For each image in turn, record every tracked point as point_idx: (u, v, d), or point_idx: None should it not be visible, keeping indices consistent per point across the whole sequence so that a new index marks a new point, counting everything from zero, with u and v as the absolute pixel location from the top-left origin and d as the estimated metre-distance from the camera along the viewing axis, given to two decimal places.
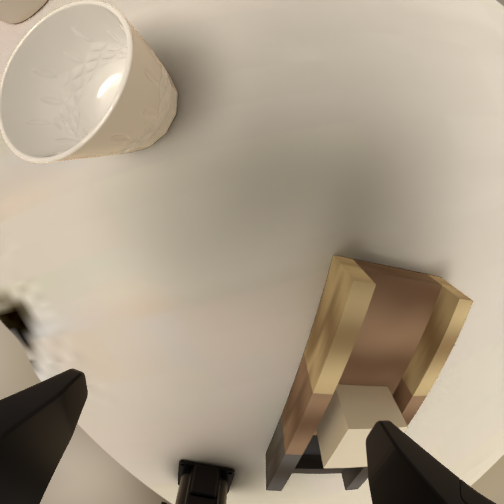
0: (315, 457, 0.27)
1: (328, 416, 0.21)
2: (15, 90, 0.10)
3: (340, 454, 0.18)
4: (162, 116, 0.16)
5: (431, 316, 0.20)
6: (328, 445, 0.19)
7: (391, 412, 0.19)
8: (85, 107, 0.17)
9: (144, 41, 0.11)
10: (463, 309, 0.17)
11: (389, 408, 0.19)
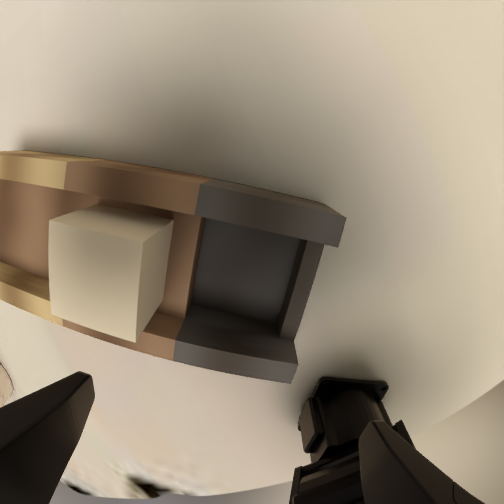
0: (291, 274, 0.19)
1: None
2: None
3: (98, 320, 0.13)
4: None
5: None
6: None
7: None
8: None
9: None
10: None
11: None
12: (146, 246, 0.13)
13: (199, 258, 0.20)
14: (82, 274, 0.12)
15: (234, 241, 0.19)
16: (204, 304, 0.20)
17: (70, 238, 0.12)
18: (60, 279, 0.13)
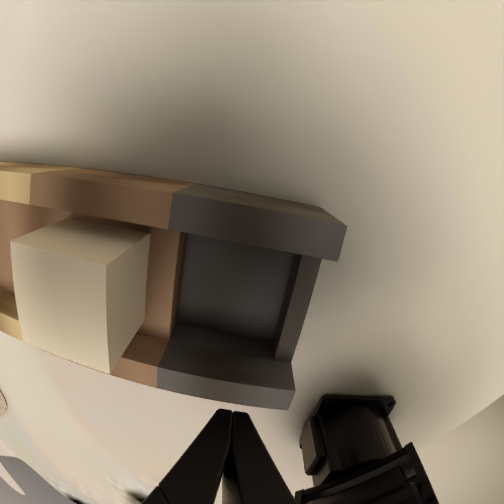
0: (286, 288, 0.17)
1: None
2: None
3: (69, 349, 0.11)
4: None
5: None
6: None
7: None
8: None
9: None
10: None
11: None
12: (112, 269, 0.10)
13: (183, 273, 0.17)
14: (47, 300, 0.10)
15: (221, 253, 0.17)
16: (191, 322, 0.18)
17: (32, 261, 0.10)
18: (26, 305, 0.10)
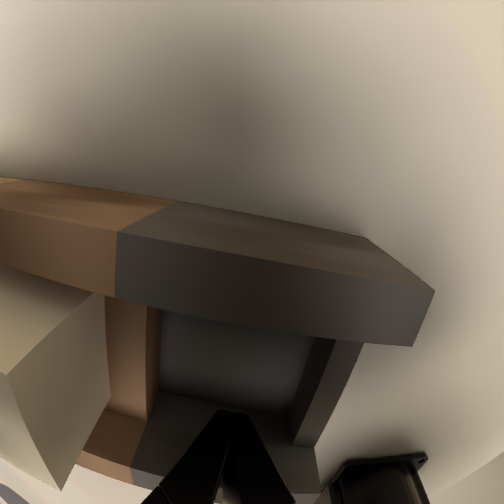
0: (312, 355, 0.11)
1: None
2: None
3: (4, 453, 0.05)
4: None
5: None
6: None
7: None
8: None
9: None
10: None
11: None
12: (25, 372, 0.05)
13: (162, 331, 0.12)
14: None
15: None
16: (178, 392, 0.12)
17: None
18: None
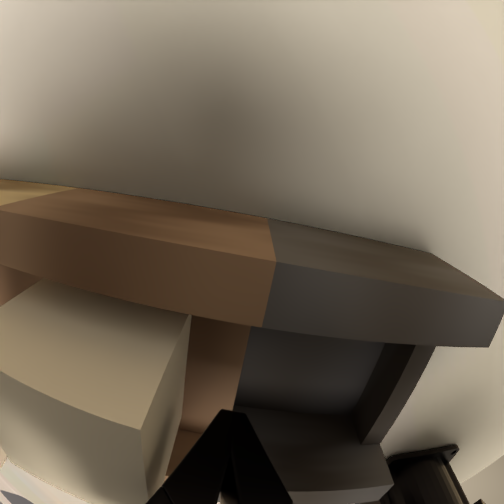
0: (383, 360, 0.12)
1: None
2: None
3: (83, 494, 0.05)
4: None
5: None
6: None
7: None
8: None
9: None
10: None
11: None
12: (150, 419, 0.05)
13: None
14: (34, 440, 0.05)
15: None
16: (250, 404, 0.13)
17: None
18: (4, 432, 0.05)
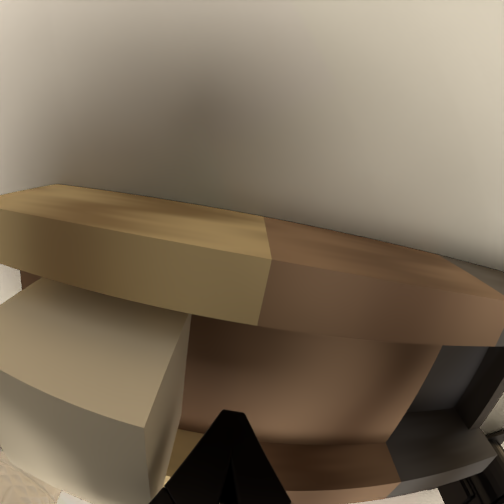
0: (488, 360, 0.12)
1: None
2: None
3: (84, 494, 0.05)
4: (16, 475, 0.13)
5: None
6: None
7: None
8: None
9: None
10: None
11: None
12: (152, 417, 0.05)
13: None
14: (35, 440, 0.05)
15: None
16: None
17: None
18: (4, 433, 0.05)
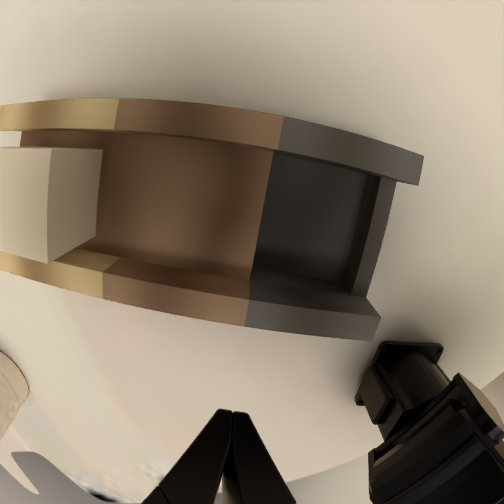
0: (358, 226, 0.18)
1: None
2: None
3: (17, 243, 0.11)
4: None
5: (47, 130, 0.14)
6: None
7: None
8: None
9: None
10: (6, 116, 0.11)
11: None
12: (58, 157, 0.11)
13: None
14: (4, 194, 0.10)
15: (299, 192, 0.18)
16: (265, 266, 0.19)
17: None
18: None
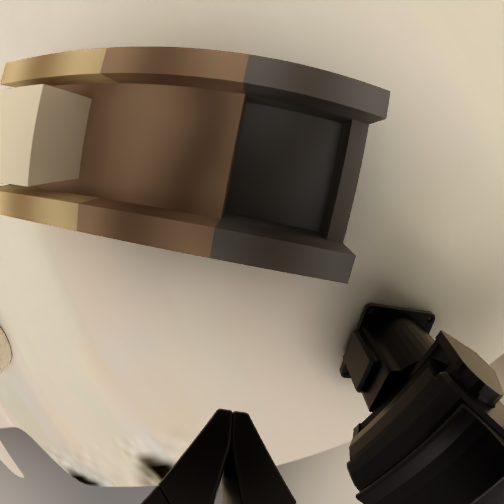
0: (334, 173, 0.18)
1: None
2: None
3: (3, 171, 0.11)
4: None
5: None
6: None
7: None
8: None
9: None
10: (9, 71, 0.12)
11: None
12: (48, 92, 0.11)
13: (235, 159, 0.18)
14: None
15: (273, 139, 0.17)
16: (240, 212, 0.19)
17: None
18: None
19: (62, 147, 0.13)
